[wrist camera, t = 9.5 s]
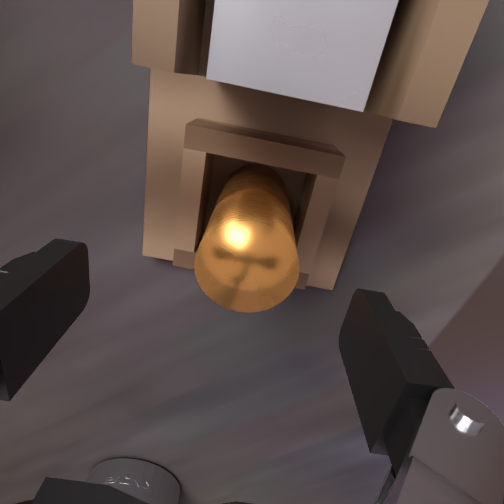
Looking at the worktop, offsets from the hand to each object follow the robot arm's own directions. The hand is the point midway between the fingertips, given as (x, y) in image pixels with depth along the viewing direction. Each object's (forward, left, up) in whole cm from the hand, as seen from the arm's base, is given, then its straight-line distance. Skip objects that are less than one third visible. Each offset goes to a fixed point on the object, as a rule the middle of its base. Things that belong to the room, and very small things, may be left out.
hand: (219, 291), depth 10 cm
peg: (0, -1, -10) cm, 10 cm away
